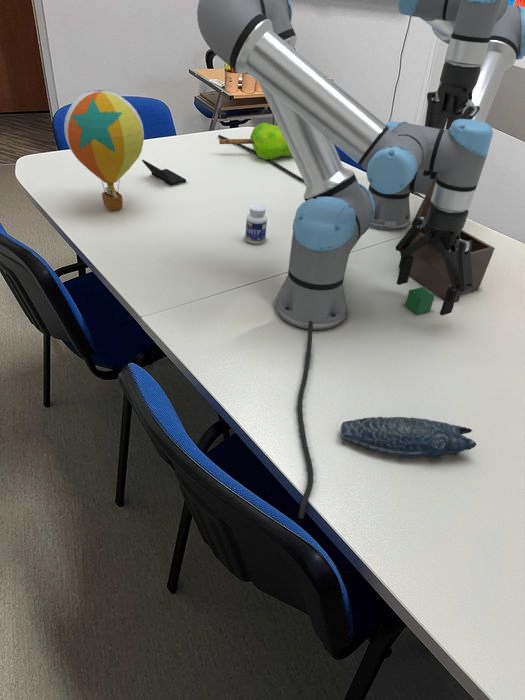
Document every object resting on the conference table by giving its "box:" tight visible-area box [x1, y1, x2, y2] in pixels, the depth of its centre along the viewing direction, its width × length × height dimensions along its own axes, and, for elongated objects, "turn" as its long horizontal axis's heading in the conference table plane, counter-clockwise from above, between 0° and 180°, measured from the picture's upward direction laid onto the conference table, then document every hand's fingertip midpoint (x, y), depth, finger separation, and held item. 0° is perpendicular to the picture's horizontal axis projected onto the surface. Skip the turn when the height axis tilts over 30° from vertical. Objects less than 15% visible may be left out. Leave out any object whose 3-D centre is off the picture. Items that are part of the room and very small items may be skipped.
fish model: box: [340, 416, 477, 458], centre depth 82 cm, size 7×21×5 cm, turn 84°
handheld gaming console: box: [141, 159, 187, 187], centre depth 162 cm, size 12×7×10 cm
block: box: [404, 286, 436, 316], centre depth 116 cm, size 4×4×4 cm
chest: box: [407, 228, 496, 300], centre depth 124 cm, size 15×12×11 cm
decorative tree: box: [218, 122, 292, 161], centre depth 186 cm, size 18×10×30 cm
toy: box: [63, 89, 145, 212], centre depth 136 cm, size 20×20×30 cm
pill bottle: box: [244, 204, 268, 245], centre depth 134 cm, size 5×5×9 cm
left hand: (422, 297), depth 115 cm, fingers open, 13 cm apart
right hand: (431, 176), depth 121 cm, fingers closed on lid, 2 cm apart
